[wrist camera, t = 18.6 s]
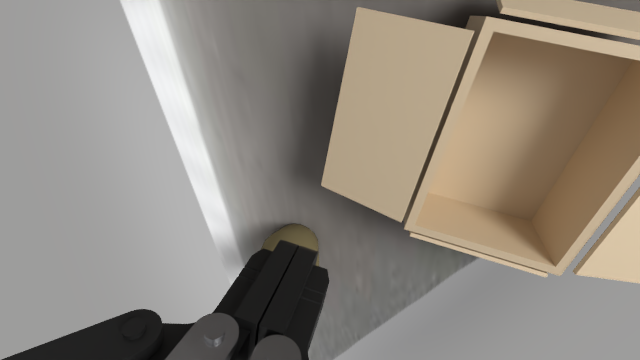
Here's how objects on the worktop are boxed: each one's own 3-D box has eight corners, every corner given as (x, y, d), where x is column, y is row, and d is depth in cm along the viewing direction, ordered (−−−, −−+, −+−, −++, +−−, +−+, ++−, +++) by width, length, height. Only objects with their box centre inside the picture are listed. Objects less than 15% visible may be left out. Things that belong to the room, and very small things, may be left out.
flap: (474, 30, 22) (359, 7, 25) (473, 30, 22) (357, 6, 25) (402, 220, 31) (323, 184, 34) (401, 222, 30) (321, 185, 34)
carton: (480, -14, 27) (501, -23, 21) (666, 19, 25) (758, 22, 18) (400, 205, 39) (397, 246, 32) (523, 241, 37) (547, 292, 30)
